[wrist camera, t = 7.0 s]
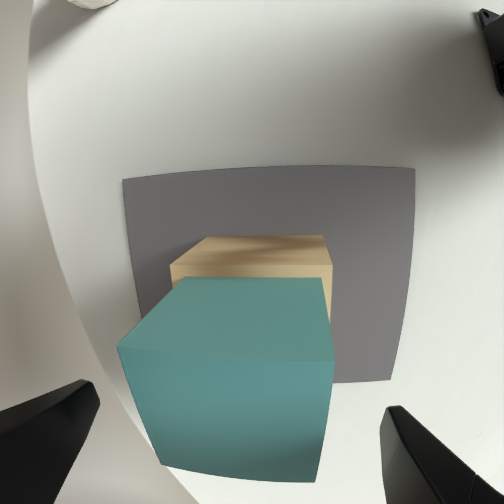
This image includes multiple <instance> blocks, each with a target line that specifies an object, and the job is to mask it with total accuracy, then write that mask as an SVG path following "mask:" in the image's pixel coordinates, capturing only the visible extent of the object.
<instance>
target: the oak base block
mask: <svg viewBox="0 0 504 504" xmlns="http://www.w3.org/2000/svg"><path fill="white" fill-rule="evenodd" d="M170 271H171V278H172V286H173V288H174V287H175V286H176V285H177V284H178V283H179V282H181V281H182V280H183V279H184V278H185V277H186V276H187V277H269V278H305V277H321V278H322V284H323V289H324V294H325V300H326V306H327V312H328V318H329V324H330V312H331V295H332V272H333V264H332V261H331V259H330V256H329V253H328V250H327V247H326V244H325V241H324V238H323V235H267V236H207V237H206V238H205V239H203V240H202V241H201V242H199V243H198V244H197V245H195V246H194V247H193V248H191V249H190V250H189V251H187V252H186V253H185V254H183V255H182V256H181V257H179V258H178V259H177V260H176V261H174V262H173V263H172V264H170Z"/></svg>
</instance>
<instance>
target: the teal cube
mask: <svg viewBox="0 0 504 504" xmlns="http://www.w3.org/2000/svg"><path fill="white" fill-rule="evenodd" d="M116 346H117V350H118V353H119V356H120V360H121V363H122V366H123V369H124V372H125V375H126V378H127V381H128V384H129V387H130V390H131V393H132V396H133V398H134V401H135V404H136V407H137V409H138V412H139V414H140V417H141V419H142V422H143V424H144V427H145V429H146V432H147V434H148V436H149V439H150V441H151V443H152V446H153V448H154V450H155V452H156V455H157V457H158V459H159V461H160V463H161V465H165V466H169V467H173V468H178V469H183V470H187V471H192V472H198V473H203V474H209V475H215V476H222V477H229V478H237V479H247V480H257V481H272V482H315V480H316V475H317V471H318V466H319V461H320V456H321V451H322V446H323V440H324V435H325V429H326V423H327V417H328V411H329V404H330V398H331V391H332V383H333V376H334V367H335V356H334V349H333V343H332V336H331V330H330V324H329V318H328V312H327V306H326V300H325V294H324V289H323V284H322V278H321V277H305V278H269V277H187V276H186V277H185V278H184V279H183V280H182V281H181V282H179V283H178V284H177V285H176V286H175V287H174V288H173V289H172V290H171V291H170V292H169V293H168V294H167V295H166V296H165V297H164V298H163V299H162V300H161V301H160V302H159V303H158V304H157V305H156V306H155V307H154V308H153V309H152V310H151V311H150V312H149V313H148V314H147V315H146V316H145V317H144V318H143V319H142V320H141V321H140V322H139V323H138V324H137V325H136V326H135V327H134V328H133V329H132V330H131V331H130V332H129V333H128V334H127V335H126V336H125V337H124V338H123V339H122V340H121V341H120V342H119V343H118V344H117V345H116Z"/></svg>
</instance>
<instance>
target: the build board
mask: <svg viewBox="0 0 504 504" xmlns="http://www.w3.org/2000/svg"><path fill="white" fill-rule="evenodd" d="M122 183H123V195H124V206H125V216H126V224H127V233H128V240H129V248H130V255H131V261H132V268H133V274H134V280H135V285H136V291H137V296H138V302H139V307H140V312H141V316H142V319H143V318H144V317H145V316H146V315H147V314H148V313H149V312H150V311H151V310H152V309H153V308H154V307H155V306H156V305H157V304H158V303H159V302H160V301H161V300H162V299H163V298H164V297H165V296H166V295H167V294H168V293H169V292H170V291H171V290H172V289H173V286H172V278H171V271H170V264H172V263H173V262H174V261H176V260H177V259H178V258H179V257H181V256H182V255H183V254H185V253H186V252H187V251H189V250H190V249H191V248H193V247H194V246H195V245H197V244H198V243H199V242H201V241H202V240H203V239H205V238H206V237H207V236H267V235H323V238H324V241H325V244H326V247H327V250H328V253H329V256H330V259H331V261H332V264H333V272H332V295H331V312H330V330H331V336H332V343H333V349H334V356H335V367H334V376H333V383H351V382H369V381H383V380H390V379H391V375H392V371H393V367H394V363H395V359H396V354H397V349H398V345H399V340H400V335H401V329H402V324H403V318H404V312H405V306H406V300H407V293H408V285H409V277H410V268H411V259H412V247H413V234H414V215H415V169H414V168H398V167H377V166H333V165H313V166H269V167H247V168H230V169H215V170H203V171H191V172H181V173H171V174H162V175H153V176H145V177H137V178H129V179H122Z"/></svg>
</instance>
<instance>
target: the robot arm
mask: <svg viewBox="0 0 504 504" xmlns="http://www.w3.org/2000/svg"><path fill="white" fill-rule="evenodd" d="M478 15H479V18H480V21H481V24H482V28H483V31H484V34H485V38H486V41H487V45H488V49H489V53H490V57H491V61H492V65H493V70H494V75H495V80H496V85H497V89H498V92H499V93H500V94H501V95H502V96H504V89H503V87H504V14H502V15H501V16H500V15H498V14H496V13H493V12H491V11H488V10H486V9H483V8H482V9H480V10H479V11H478ZM99 406H100V399H99V397H98V395H97V392H96V390H95V387H94V385H93V383H92V382H90V381H87V380H83V379H81V380H78V381H75V382H73V383H71V384H68V385H66V386H64V387H61V388H59V389H56V390H54V391H51V392H49V393H46V394H44V395H41V396H39V397H36V398H34V399H31V400H29V401H26V402H24V403H21V404H18V405H16V406H13V407H10V408H8V409H5V410H2V411H0V504H54V502H55V500H56V497H57V495H58V493H59V491H60V489H61V487H62V485H63V483H64V481H65V479H66V477H67V475H68V473H69V471H70V469H71V467H72V465H73V463H74V461H75V460H76V458H77V455H78V454H79V452H80V450H81V448H82V446H83V444H84V442H85V440H86V438H87V436H88V433H89V431H90V428H91V426H92V423H93V421H94V418H95V416H96V413H97V411H98V409H99ZM380 444H381V460H382V477H383V484H384V490H385V496H386V502H387V504H504V495H502V494H501V493H499V492H498V491H497V490H495V489H494V488H493V487H492V486H490V485H489V484H488V483H487V482H486V481H484V480H483V479H482V478H481V477H480V476H479V475H476V473H475V472H474V471H473V470H472V469H471V468H470V467H469V466H467V465H466V464H465V463H464V462H463V461H462V460H461V459H460V458H459V457H457V456H456V455H455V454H454V453H453V452H452V451H451V450H450V449H448V448H447V447H446V446H445V445H444V444H443V443H442V442H441V441H440V440H439V439H437V438H436V437H435V436H434V435H433V434H432V433H431V432H430V431H429V430H427V429H426V428H425V427H424V426H423V425H422V424H421V423H420V422H419V421H418V420H416V419H415V418H414V417H413V416H412V415H411V414H410V413H409V412H408V411H407V410H405V409H404V408H403V407H402V406H400V405H398V406H389V407H387V408H386V410H385V413H384V416H383V419H382V422H381V425H380Z"/></svg>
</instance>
